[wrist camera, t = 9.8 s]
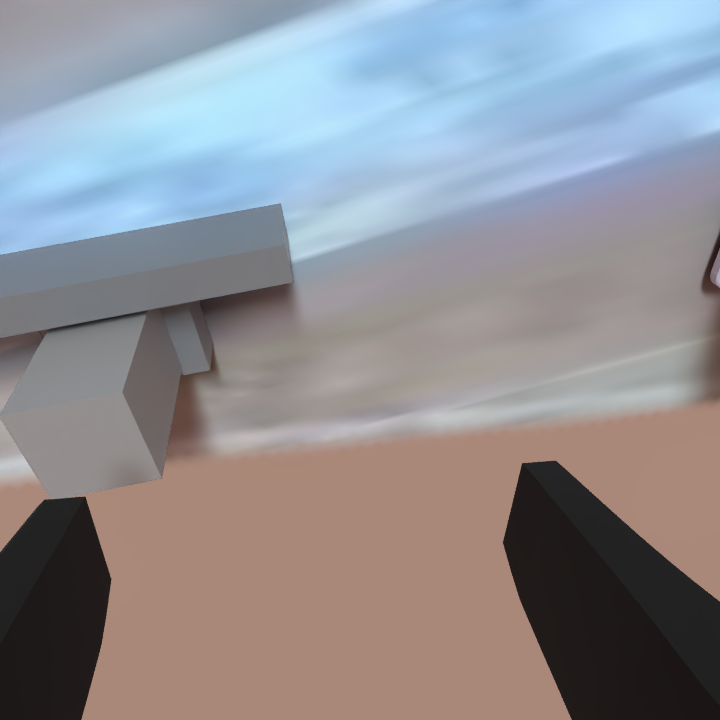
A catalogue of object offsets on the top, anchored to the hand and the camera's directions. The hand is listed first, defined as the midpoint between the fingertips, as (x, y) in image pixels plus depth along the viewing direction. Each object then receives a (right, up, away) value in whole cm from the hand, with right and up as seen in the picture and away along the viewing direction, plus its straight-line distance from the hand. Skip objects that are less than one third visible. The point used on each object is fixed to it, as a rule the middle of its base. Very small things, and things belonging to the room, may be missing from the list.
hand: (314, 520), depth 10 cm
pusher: (-6, +5, +7) cm, 11 cm away
